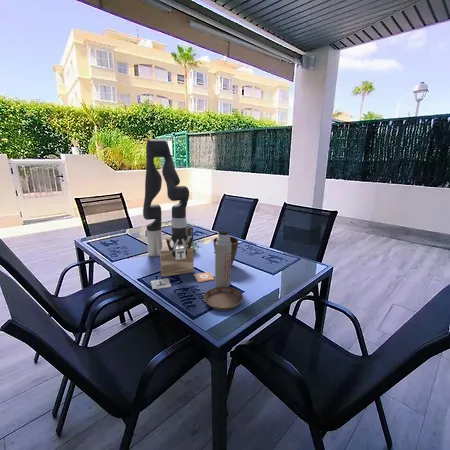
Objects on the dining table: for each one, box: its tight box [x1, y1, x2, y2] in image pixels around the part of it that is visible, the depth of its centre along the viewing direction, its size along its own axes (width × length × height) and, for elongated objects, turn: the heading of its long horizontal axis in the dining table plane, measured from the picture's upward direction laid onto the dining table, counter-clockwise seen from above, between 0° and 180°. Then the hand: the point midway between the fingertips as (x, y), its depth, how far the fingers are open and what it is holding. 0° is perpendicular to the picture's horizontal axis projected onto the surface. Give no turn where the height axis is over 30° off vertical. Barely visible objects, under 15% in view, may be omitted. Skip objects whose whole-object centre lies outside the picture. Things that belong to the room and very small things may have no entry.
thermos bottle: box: [214, 230, 232, 287], centre depth 130 cm, size 8×8×28 cm
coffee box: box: [177, 225, 194, 248], centre depth 179 cm, size 9×6×16 cm
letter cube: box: [175, 246, 186, 260], centre depth 136 cm, size 5×5×5 cm
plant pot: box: [212, 236, 239, 267], centre depth 154 cm, size 15×15×16 cm
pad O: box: [193, 271, 215, 283], centre depth 140 cm, size 9×9×1 cm
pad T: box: [150, 277, 172, 290], centre depth 132 cm, size 9×9×1 cm
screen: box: [159, 246, 195, 278], centre depth 144 cm, size 5×18×14 cm, turn 112°
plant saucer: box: [203, 286, 244, 312], centre depth 117 cm, size 18×18×3 cm
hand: (179, 256), depth 137 cm, fingers closed on letter cube, 5 cm apart
